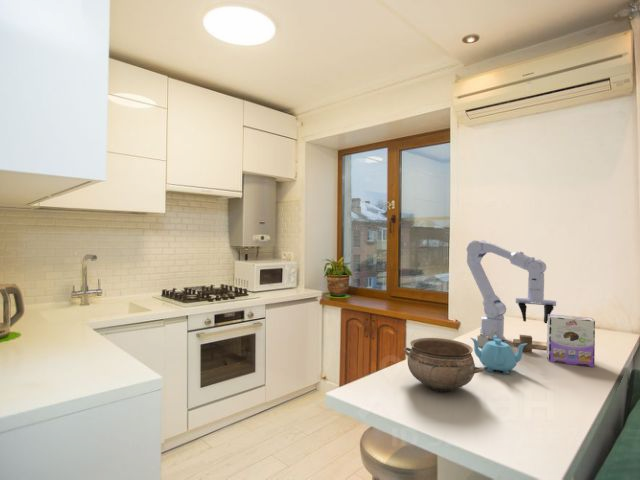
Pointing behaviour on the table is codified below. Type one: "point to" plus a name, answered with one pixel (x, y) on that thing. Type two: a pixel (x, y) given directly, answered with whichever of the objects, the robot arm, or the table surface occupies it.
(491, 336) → the lighter
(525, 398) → the table surface
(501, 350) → the teapot
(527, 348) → the brown wooden block
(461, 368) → the cooking pot
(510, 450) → the table surface
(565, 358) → the candy box
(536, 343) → the board
